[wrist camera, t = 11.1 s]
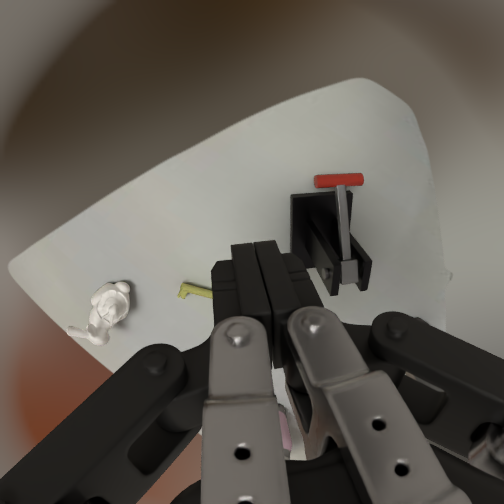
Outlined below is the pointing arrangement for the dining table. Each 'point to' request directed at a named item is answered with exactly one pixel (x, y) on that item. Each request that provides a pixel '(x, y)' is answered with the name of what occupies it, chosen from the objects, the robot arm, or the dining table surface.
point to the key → (193, 291)
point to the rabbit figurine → (104, 312)
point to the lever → (342, 219)
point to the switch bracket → (324, 238)
